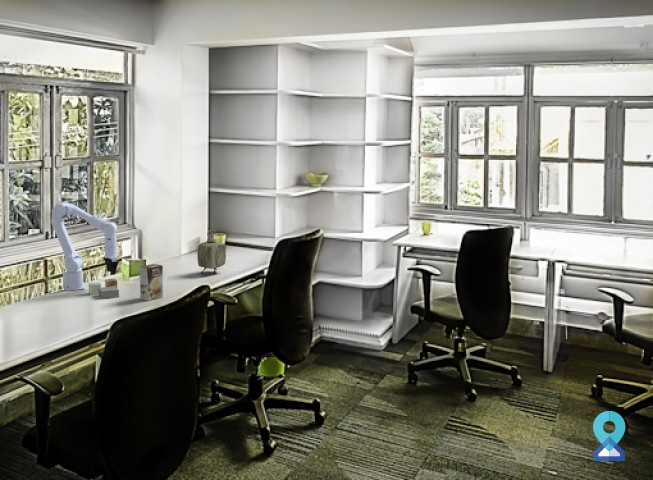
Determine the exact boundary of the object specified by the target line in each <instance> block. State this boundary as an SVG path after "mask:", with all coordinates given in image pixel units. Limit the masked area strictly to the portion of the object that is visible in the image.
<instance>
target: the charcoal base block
mask: <svg viewBox="0 0 653 480" xmlns="http://www.w3.org/2000/svg"><path fill="white" fill-rule="evenodd" d="M117 288H118V287H117ZM117 288H116V287H115V286H112V287H105V286H103V287H102V286H101V288H98V290H99V294H98V296H99V297H100V298H101V300H106V299H115V298H116V299H117V298H120V290H119V288H118V289H117Z"/></svg>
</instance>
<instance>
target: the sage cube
mask: <svg viewBox="0 0 653 480" xmlns="http://www.w3.org/2000/svg"><path fill="white" fill-rule="evenodd" d="M98 288H102V283H100V282H88V293H90V294H89V295H90V296H95V295H96V296H97V295H98V296H99V290H98Z"/></svg>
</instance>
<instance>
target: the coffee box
mask: <svg viewBox="0 0 653 480" xmlns="http://www.w3.org/2000/svg"><path fill="white" fill-rule="evenodd" d="M163 268H164V266H163V265H161V264H157V263H153V264H148V265H141V266H139V276H140V277H139V284H140V285H139V288H140V289H139V290H140V291H139V292H140V293H139V294H140V300H144V301H148V302H149V301H150V302H151V301H153V300H158V299H161V298H164V285H163V283H164V279H163V278H164V277H163V276H164V274H163V273H164V272H163V270H164V269H163Z"/></svg>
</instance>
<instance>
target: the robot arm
mask: <svg viewBox="0 0 653 480" xmlns="http://www.w3.org/2000/svg"><path fill="white" fill-rule="evenodd" d="M72 215H73V216H76V217H78V218H80V219H83V220H85V221H87V222H89V225H90V226H91V227H94V228H96V229H97V230H100V231H102V232H103V234H104V257H102V258H103V260H104V261H103V262H104V263H105V267H106V271H107V272H109V273H110V275H111V276H112V275H113V276H114V275H116V273H117V269H118V266H119V264H120V261H119V260H117V258H118V257H120V254H119V253H118V248H117V247H118V243H117V231H118V225H117V223H115V222H114V221H110V220H108V219H107V220H106V219H105V218H102V216H101V215H100V214H98V215H97V214H95V215H92V214H91V213H88V211H87V212H86V211H85V210H83V209H82V208H80V207H78V206H76V205H75V204H73V203H70V202H68V201H62V202H60V203H56V204H55V205H54V206H53V208H52V209H51V220H50V222H51V225H52V228H53V230H54V232H55V233H54V234H56V235H55V236H56V237H57V239H58V242H59V245H60V247H61V250H62V252H63V254H64V259H63V260H64V264H65V265H64V266H65V269H66V271H64V272H62V288H63V290H64V291H65V292H69V291H78V290H85V289H86V287H85V286H84V285H83V284H84V281H83V268H82V267H83V266H84V265H85V264H84V260H83V258H82V257H80V255H79V252H77V251H76V249H75V247H74V245H73V242H72V240H71V238H70V235H69V233H68V230H67V228H66V225H65V223H64V222H65V219H66V218H67V216H72Z"/></svg>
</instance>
